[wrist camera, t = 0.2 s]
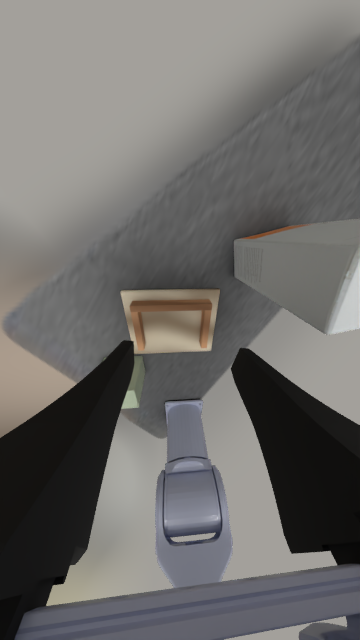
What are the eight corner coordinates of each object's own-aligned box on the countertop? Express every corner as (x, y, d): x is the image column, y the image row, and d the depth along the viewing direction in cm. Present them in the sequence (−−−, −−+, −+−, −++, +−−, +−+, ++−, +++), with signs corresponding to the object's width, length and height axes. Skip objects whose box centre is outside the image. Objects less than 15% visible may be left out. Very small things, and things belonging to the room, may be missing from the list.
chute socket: (210, 348, 23) (213, 357, 21) (134, 351, 22) (131, 361, 20) (218, 288, 18) (224, 294, 16) (121, 290, 17) (116, 296, 15)
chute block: (145, 372, 25) (138, 407, 20) (110, 373, 24) (94, 410, 19) (142, 355, 23) (134, 390, 18) (104, 357, 22) (84, 393, 17)
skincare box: (289, 224, 15) (577, 192, 4) (283, 266, 17) (463, 313, 6) (231, 238, 15) (366, 242, 5) (232, 278, 17) (325, 340, 7)
